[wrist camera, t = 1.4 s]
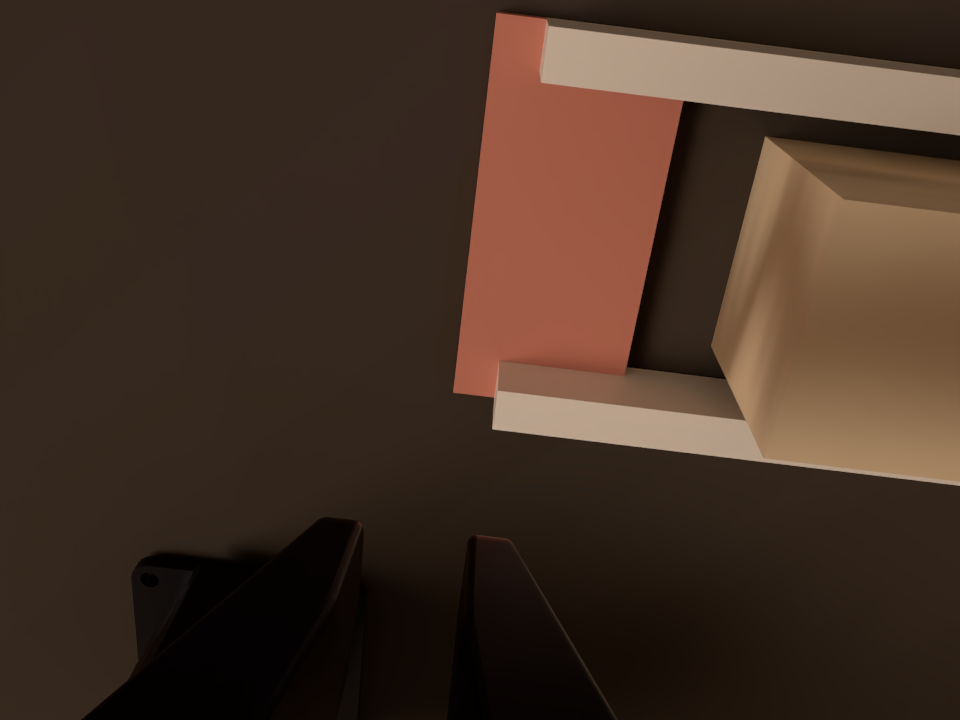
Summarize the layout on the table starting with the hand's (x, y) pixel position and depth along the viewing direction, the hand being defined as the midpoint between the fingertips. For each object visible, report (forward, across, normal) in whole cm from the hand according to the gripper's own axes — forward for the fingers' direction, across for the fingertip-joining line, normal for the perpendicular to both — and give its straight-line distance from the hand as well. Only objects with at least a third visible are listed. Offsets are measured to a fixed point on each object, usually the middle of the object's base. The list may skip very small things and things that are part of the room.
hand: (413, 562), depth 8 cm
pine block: (+12, -8, 0) cm, 15 cm away
